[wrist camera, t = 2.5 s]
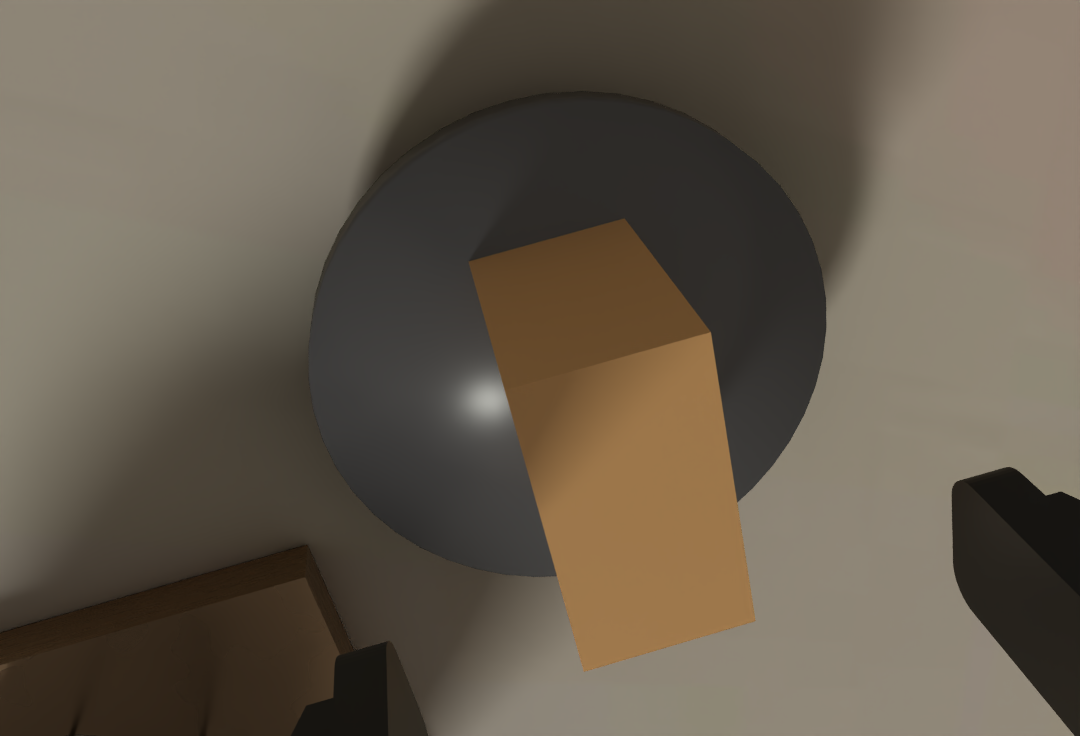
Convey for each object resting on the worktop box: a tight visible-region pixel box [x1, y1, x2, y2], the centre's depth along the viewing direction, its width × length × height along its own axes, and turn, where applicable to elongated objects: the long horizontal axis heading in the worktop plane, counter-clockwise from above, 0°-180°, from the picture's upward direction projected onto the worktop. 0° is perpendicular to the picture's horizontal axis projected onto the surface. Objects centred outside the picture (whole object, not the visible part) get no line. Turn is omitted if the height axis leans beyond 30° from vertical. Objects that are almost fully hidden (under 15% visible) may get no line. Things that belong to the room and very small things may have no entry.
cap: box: [309, 91, 826, 672], centre depth 18 cm, size 10×10×8 cm
